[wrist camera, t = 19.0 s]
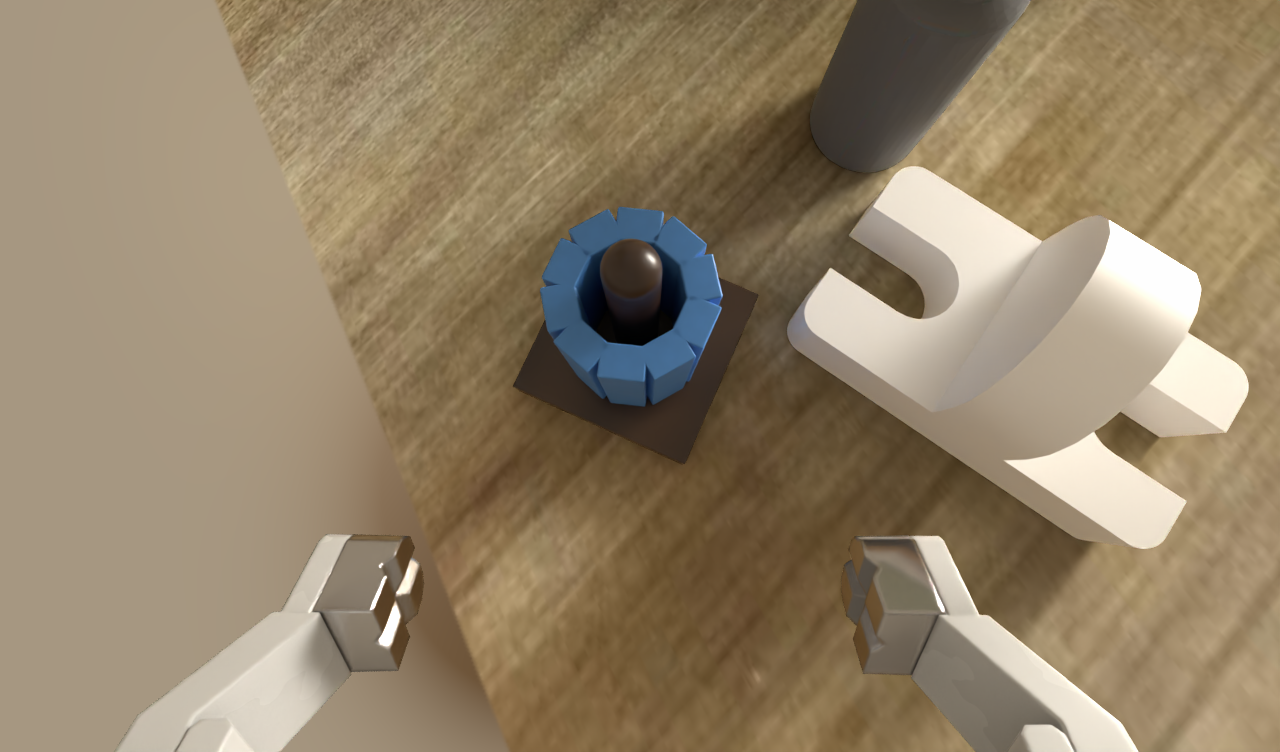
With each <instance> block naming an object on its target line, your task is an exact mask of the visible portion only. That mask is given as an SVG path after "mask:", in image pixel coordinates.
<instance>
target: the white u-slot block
mask: <svg viewBox="0 0 1280 752" xmlns="http://www.w3.org/2000/svg"><path fill="white" fill-rule="evenodd" d="M849 236H850V237H851V238H853V239H854V240H856V241H857V242H859V243H860V244H862V245H863V246H865V247H867V248H868V249H870V250H871V251H873V252H874V253H876V254H877V255H879V256H880V257H882V258H884V259H885V260H887V261H888V262H890V263H891V264H893V265H894V266H896V267H897V268H899V269H901V270H902V271H904V272H905V273H907V274H908V275H909V276H911V277H912V278H913V279H914V280H915V281H916V282H917V284H918V285H919V286H920V288H921V290H922V293H923V295H924V302H925V307H924V313H923V316H922V318H921V319H915V318H911V317H907V316H905V315H903V314H901V313H899V312H897V311H896V310H894V309H893V308H891V307H890V306H888V305H886V304H885V303H883V302H882V301H880V300H879V299H877V298H876V297H874V296H873V295H871V294H870V293H868V292H867V291H865V290H864V289H862V288H861V287H859V286H858V285H856V284H854V283H853V282H851V281H850V280H848V279H847V278H845V277H844V276H842V275H841V274H839V273H838V272H836V271H835V270H833V269H832V268H830V269H829V270H828V271H827V272H826V273H825V274H824V276H823V277H822V278H821V279H820V280H819V281H818V282H817V284H816V285H815V286H814V287H813V288H812V289H811V290H810V292H809V293H808V295H807V296H806V298H805V299H804V300H803V302H802V303H801V305H800V306H799V308H798V309H797V311H796V312H795V313H794V315H793V316H792V318H791V319H790V321H789V323H788V327H787V336H788V339H789V341H790V343H791V345H792V346H793V347H794V348H795V349H796V350H797V351H799V352H800V353H802V354H803V355H805V356H806V357H808V358H809V359H811V360H812V361H814V362H815V363H816V364H818V365H819V366H821V367H822V368H824V369H825V370H827V371H828V372H830V373H831V374H833V375H834V376H836V377H837V378H839V379H840V380H842V381H843V382H845V383H846V384H848V385H849V386H851V387H852V388H854V389H855V390H856V391H858V392H859V393H861V394H862V395H864V396H865V397H867V398H868V399H870V400H871V401H873V402H874V403H876V404H877V405H879V406H880V407H882V408H883V409H885V410H886V411H888V412H889V413H891V414H892V415H893V416H895V417H896V418H898V419H899V420H901V421H902V422H904V423H905V424H907V425H908V426H910V427H911V428H913V429H914V430H916V431H917V432H919V433H920V434H922V435H923V436H925V437H926V438H928V439H929V440H931V441H932V442H933V443H935V444H936V445H938V446H939V447H941V448H942V449H944V450H945V451H947V452H948V453H950V454H951V455H953V456H954V457H956V458H957V459H959V460H960V461H962V462H963V463H965V464H966V465H968V466H969V467H970V468H972V469H973V470H975V471H976V472H978V473H979V474H981V475H982V476H984V477H985V478H987V479H988V480H990V481H991V482H993V483H994V484H996V485H997V486H999V487H1000V488H1002V489H1003V490H1005V491H1006V492H1008V493H1009V494H1010V495H1012V496H1013V497H1015V498H1016V499H1018V500H1019V501H1021V502H1022V503H1024V504H1025V505H1027V506H1028V507H1030V508H1031V509H1033V510H1034V511H1036V512H1037V513H1039V514H1040V515H1042V516H1043V517H1045V518H1046V519H1047V520H1049V521H1050V522H1052V523H1053V524H1055V525H1056V526H1058V527H1059V528H1061V529H1062V530H1064V531H1065V532H1067V533H1068V534H1070V535H1071V536H1073V537H1075V538H1077V539H1080V540H1086V541H1093V542H1100V543H1107V544H1113V545H1120V546H1127V547H1134V548H1141V549H1149V548H1153V547H1155V546H1157V545H1159V544H1160V543H1162V542H1163V541H1164V539H1165V538H1166V536H1167V535H1168V533H1169V531H1170V529H1171V528H1172V526H1173V524H1174V523H1175V521H1176V519H1177V517H1178V516H1179V514H1180V512H1181V510H1182V509H1183V507H1184V505H1185V503H1186V502H1187V501H1185V500H1184V499H1182V498H1181V497H1179V496H1178V495H1176V494H1175V493H1173V492H1172V491H1170V490H1169V489H1167V488H1166V487H1164V486H1163V485H1161V484H1159V483H1158V482H1156V481H1155V480H1153V479H1152V478H1150V477H1149V476H1147V475H1146V474H1144V473H1143V472H1141V471H1140V470H1138V469H1137V468H1135V467H1134V466H1132V465H1131V464H1129V463H1127V462H1126V461H1124V460H1123V459H1121V458H1120V457H1118V456H1117V455H1115V454H1114V453H1112V452H1111V451H1110V450H1109V449H1107V448H1106V447H1105V446H1104V445H1103V444H1102V443H1101V442H1100V440H1099V439H1098V438H1097V436H1096V434H1095V432H1094V431H1096V430H1097V429H1099V428H1100V427H1102V426H1103V425H1105V424H1106V423H1107V422H1109V421H1110V420H1111V419H1112V418H1113V417H1115V416H1116V415H1117V414H1118V413H1119V412H1121V413H1123V414H1124V415H1126V416H1128V417H1129V418H1131V419H1132V420H1134V421H1135V422H1137V423H1138V424H1140V425H1141V426H1143V427H1145V428H1146V429H1148V430H1149V431H1151V432H1152V433H1154V434H1155V435H1157V436H1158V437H1172V436H1186V435H1199V434H1212V433H1225V432H1227V430H1228V428H1229V427H1230V425H1231V423H1232V421H1233V420H1234V418H1235V416H1236V414H1237V413H1238V411H1239V409H1240V407H1241V406H1242V404H1243V402H1244V400H1245V399H1246V397H1247V394H1248V380H1247V377H1246V375H1245V373H1244V371H1243V370H1242V368H1241V367H1240V366H1239V365H1238V364H1237V363H1235V362H1234V361H1232V360H1231V359H1229V358H1228V357H1226V356H1224V355H1223V354H1221V353H1220V352H1218V351H1216V350H1215V349H1213V348H1212V347H1210V346H1208V345H1207V344H1205V343H1204V342H1202V341H1200V340H1199V339H1197V338H1196V337H1194V336H1192V335H1191V334H1189V333H1188V330H1189V328H1190V326H1191V324H1192V322H1193V319H1194V317H1195V315H1196V313H1197V310H1198V305H1199V299H1200V293H1201V287H1200V284H1199V281H1198V278H1197V275H1196V273H1194V272H1193V271H1191V270H1189V269H1188V268H1186V267H1185V266H1183V265H1181V264H1180V263H1178V262H1176V261H1175V260H1173V259H1172V258H1170V257H1168V256H1167V255H1165V254H1163V253H1162V252H1160V251H1158V250H1157V249H1155V248H1154V247H1152V246H1150V245H1149V244H1147V243H1145V242H1144V241H1142V240H1141V239H1139V238H1137V237H1136V236H1134V235H1132V234H1131V233H1129V232H1128V231H1126V230H1124V229H1123V228H1121V227H1119V226H1118V225H1116V224H1115V223H1113V222H1111V221H1110V220H1108V219H1106V218H1105V217H1103V216H1101V215H1097V216H1092V217H1086V218H1084V219H1082V220H1080V221H1078V222H1076V223H1074V224H1072V225H1069V226H1068V227H1066V228H1064V229H1062V230H1061V231H1059V232H1057V233H1056V234H1054V235H1052V236H1051V237H1049V238H1047V239H1046V240H1044V241H1041V240H1039V239H1037V238H1036V237H1034V236H1033V235H1031V234H1029V233H1028V232H1026V231H1025V230H1023V229H1021V228H1020V227H1018V226H1017V225H1015V224H1013V223H1012V222H1010V221H1009V220H1007V219H1005V218H1004V217H1002V216H1001V215H999V214H997V213H996V212H994V211H993V210H991V209H989V208H988V207H986V206H985V205H983V204H982V203H980V202H978V201H977V200H975V199H974V198H972V197H970V196H969V195H967V194H966V193H964V192H962V191H961V190H959V189H958V188H956V187H954V186H953V185H951V184H950V183H948V182H946V181H945V180H943V179H942V178H940V177H938V176H937V175H935V174H934V173H932V172H930V171H929V170H927V169H925V168H922V167H917V166H912V167H906V168H903V169H901V170H900V171H898V172H897V173H896V174H895V175H894V176H893V178H892V179H891V180H890V181H889V183H888V184H887V185H886V186H885V187H884V189H883V190H882V191H881V192H880V194H879V195H878V196H877V197H876V198H875V200H874V201H873V202H872V203H871V205H870V206H869V207H868V208H867V210H866V211H865V212H864V214H863V215H862V217H861V218H860V220H859V221H858V223H857V224H856V225H855V227H854V228H853V230H852V231H851V233H850V234H849Z"/></svg>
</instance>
